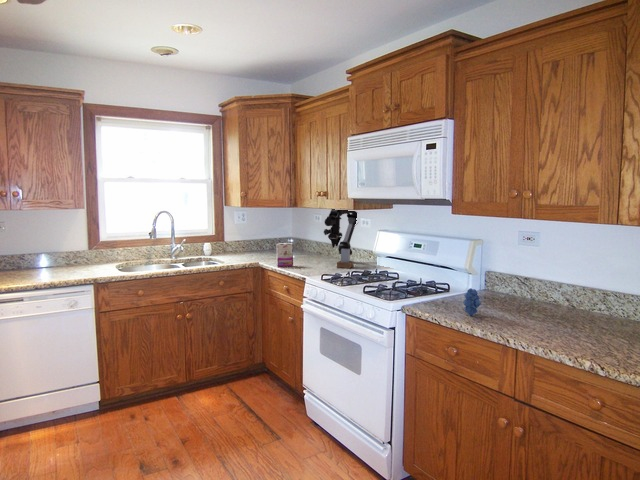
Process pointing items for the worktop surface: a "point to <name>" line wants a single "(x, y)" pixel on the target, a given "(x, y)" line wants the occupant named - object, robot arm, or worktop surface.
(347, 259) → the small plastic crate
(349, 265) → the wooden crate
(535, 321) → the worktop surface
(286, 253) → the candy bar box
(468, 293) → the grapes
